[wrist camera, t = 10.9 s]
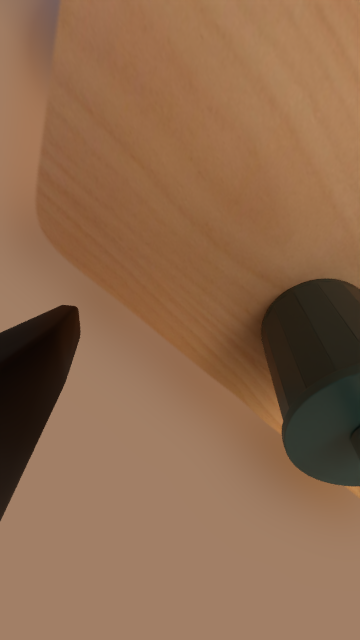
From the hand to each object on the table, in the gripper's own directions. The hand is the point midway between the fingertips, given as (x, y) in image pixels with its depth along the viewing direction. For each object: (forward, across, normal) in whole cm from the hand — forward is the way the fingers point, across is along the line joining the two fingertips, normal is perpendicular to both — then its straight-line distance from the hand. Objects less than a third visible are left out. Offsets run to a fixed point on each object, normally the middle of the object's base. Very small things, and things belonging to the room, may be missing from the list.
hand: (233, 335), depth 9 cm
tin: (+12, -9, +7) cm, 17 cm away
